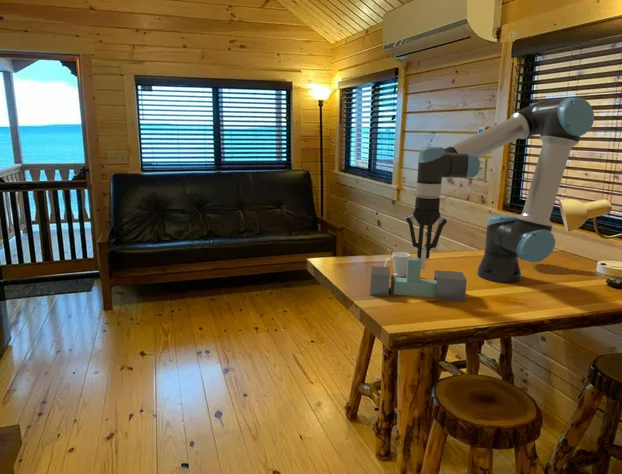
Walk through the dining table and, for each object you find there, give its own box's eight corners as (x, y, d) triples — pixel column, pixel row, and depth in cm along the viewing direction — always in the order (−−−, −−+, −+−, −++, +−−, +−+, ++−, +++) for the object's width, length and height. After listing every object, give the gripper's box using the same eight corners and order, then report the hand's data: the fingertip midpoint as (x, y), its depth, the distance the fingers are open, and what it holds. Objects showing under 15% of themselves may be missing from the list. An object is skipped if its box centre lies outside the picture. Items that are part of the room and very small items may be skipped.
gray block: (460, 292, 159) (462, 271, 157) (464, 301, 150) (466, 280, 149) (433, 290, 160) (434, 270, 158) (435, 299, 152) (437, 278, 150)
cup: (413, 277, 174) (414, 256, 172) (388, 279, 171) (390, 257, 169) (403, 271, 181) (405, 251, 179) (380, 273, 178) (381, 252, 176)
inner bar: (454, 294, 157) (457, 259, 154) (456, 298, 153) (459, 263, 150) (390, 289, 160) (392, 255, 157) (390, 294, 156) (392, 259, 153)
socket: (388, 287, 162) (389, 267, 161) (388, 296, 154) (389, 275, 152) (370, 286, 163) (371, 266, 162) (370, 294, 155) (371, 274, 153)
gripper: (447, 195, 152) (441, 266, 157) (406, 193, 154) (401, 263, 159) (450, 199, 144) (444, 272, 150) (407, 197, 146) (402, 269, 152)
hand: (422, 267), depth 154 cm, fingers closed
